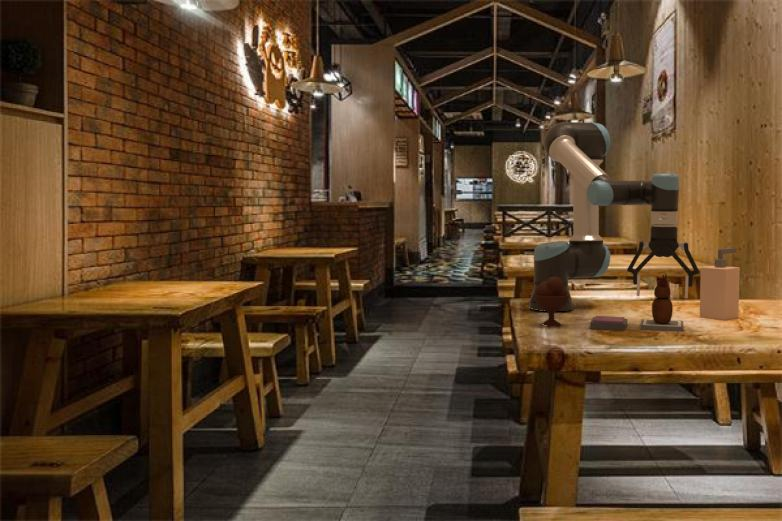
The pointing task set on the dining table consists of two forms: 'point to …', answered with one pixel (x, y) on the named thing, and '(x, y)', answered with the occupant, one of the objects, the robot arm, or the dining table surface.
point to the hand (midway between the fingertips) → (662, 296)
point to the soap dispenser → (720, 289)
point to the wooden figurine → (662, 303)
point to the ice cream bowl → (551, 298)
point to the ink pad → (608, 323)
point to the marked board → (662, 325)
